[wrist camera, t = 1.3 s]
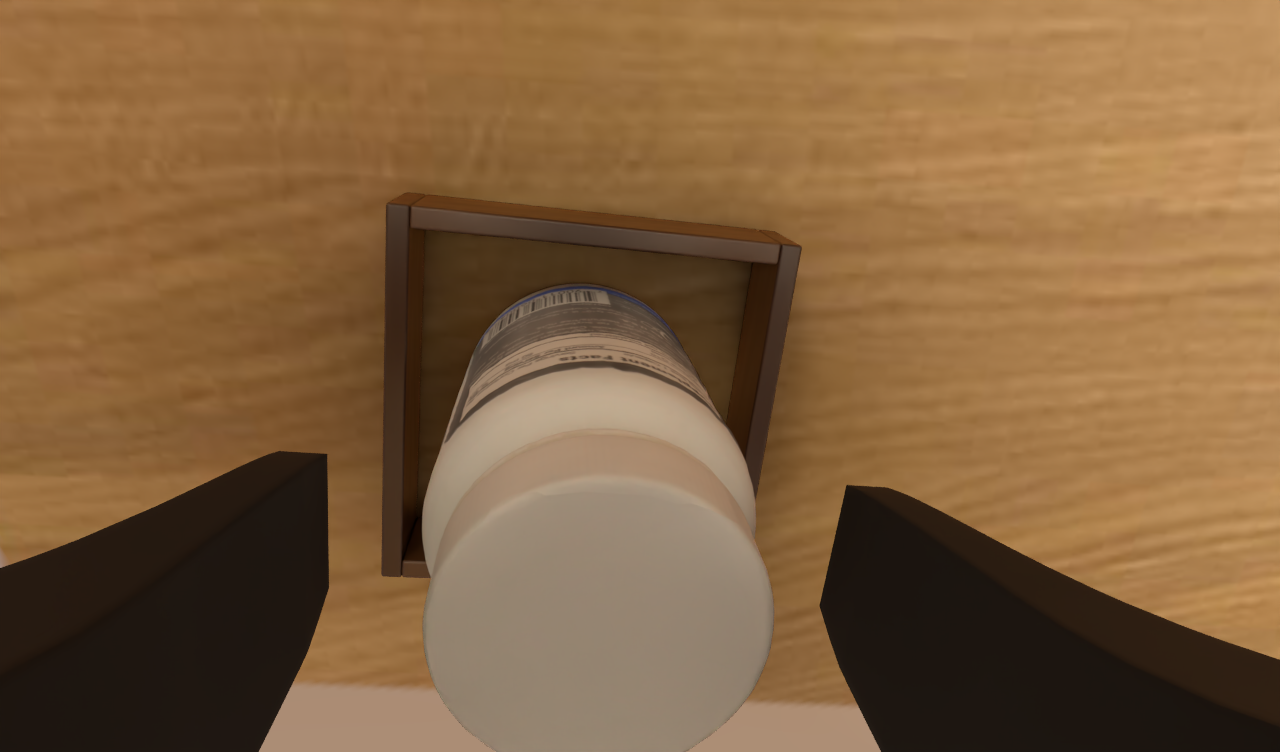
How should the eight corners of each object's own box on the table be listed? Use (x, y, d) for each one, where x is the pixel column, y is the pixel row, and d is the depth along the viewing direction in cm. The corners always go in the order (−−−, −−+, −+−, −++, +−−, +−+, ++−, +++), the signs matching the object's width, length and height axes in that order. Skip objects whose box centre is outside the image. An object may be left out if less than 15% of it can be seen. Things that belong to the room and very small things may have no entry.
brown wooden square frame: (776, 231, 16) (803, 245, 14) (722, 546, 18) (739, 591, 16) (405, 191, 15) (385, 202, 13) (398, 530, 17) (381, 577, 15)
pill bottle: (640, 512, 18) (711, 840, 10) (438, 450, 17) (332, 760, 9) (723, 323, 16) (881, 523, 8) (509, 244, 15) (461, 387, 7)
